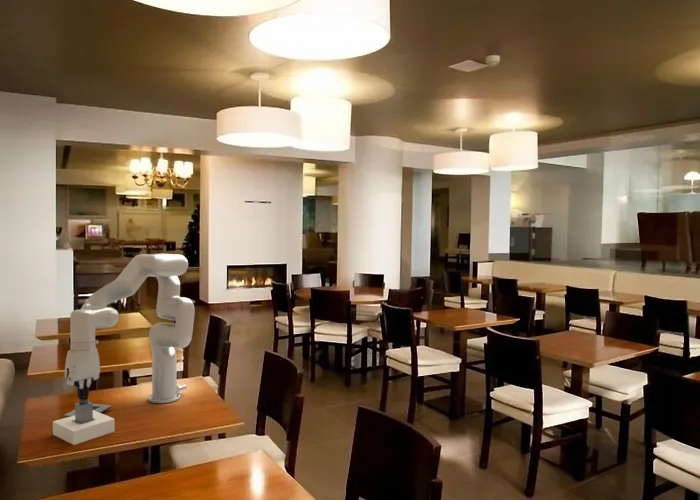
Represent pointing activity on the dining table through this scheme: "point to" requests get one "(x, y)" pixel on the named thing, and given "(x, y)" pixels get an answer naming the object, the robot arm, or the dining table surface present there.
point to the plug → (83, 411)
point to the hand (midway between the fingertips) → (83, 398)
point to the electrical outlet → (96, 407)
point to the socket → (83, 428)
